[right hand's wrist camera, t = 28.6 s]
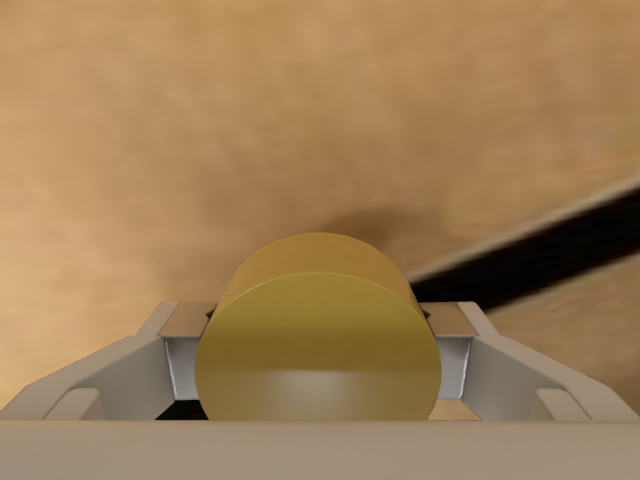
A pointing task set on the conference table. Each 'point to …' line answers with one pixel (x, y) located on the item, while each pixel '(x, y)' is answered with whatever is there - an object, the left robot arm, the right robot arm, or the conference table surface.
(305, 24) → the conference table surface
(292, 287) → the lid
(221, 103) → the conference table surface
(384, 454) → the right robot arm
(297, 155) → the conference table surface
